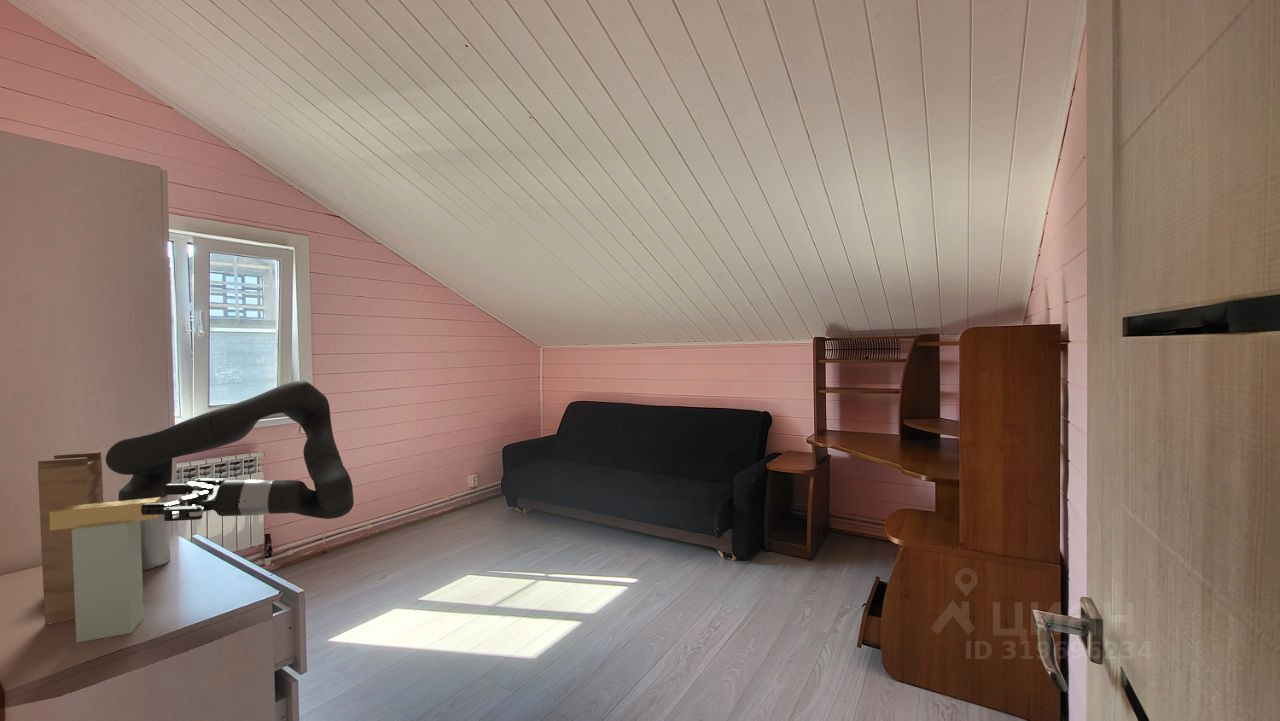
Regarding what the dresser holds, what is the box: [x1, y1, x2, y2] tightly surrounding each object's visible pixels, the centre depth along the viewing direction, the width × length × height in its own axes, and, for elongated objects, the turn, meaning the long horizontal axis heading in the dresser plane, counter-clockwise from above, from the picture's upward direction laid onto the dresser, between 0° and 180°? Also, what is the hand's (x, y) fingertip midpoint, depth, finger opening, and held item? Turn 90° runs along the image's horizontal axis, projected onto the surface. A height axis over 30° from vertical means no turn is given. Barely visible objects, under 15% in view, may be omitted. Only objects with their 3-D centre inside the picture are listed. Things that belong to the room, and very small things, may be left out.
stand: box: [37, 451, 104, 625], centre depth 112 cm, size 7×7×34 cm
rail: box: [49, 497, 161, 530], centre depth 105 cm, size 4×15×4 cm, turn 115°
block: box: [72, 521, 145, 644], centre depth 106 cm, size 6×8×22 cm
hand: (153, 498), depth 108 cm, fingers open, 8 cm apart
